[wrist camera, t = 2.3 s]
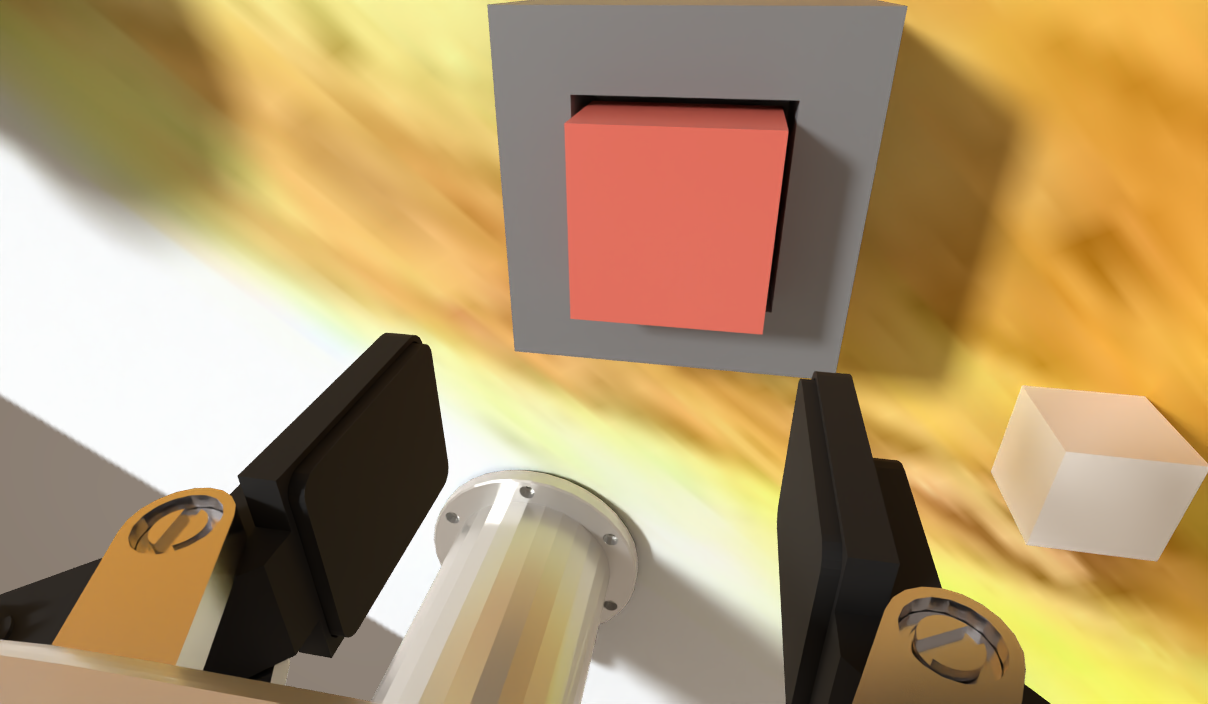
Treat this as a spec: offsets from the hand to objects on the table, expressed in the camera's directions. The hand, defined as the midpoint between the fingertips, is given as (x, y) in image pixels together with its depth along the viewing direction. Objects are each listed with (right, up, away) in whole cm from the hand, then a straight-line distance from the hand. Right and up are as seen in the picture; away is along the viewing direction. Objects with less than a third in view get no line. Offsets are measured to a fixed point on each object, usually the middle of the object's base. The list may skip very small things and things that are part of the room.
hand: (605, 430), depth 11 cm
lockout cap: (+21, -3, +20) cm, 29 cm away
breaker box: (+4, +9, +17) cm, 20 cm away
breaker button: (+3, +7, +12) cm, 14 cm away
